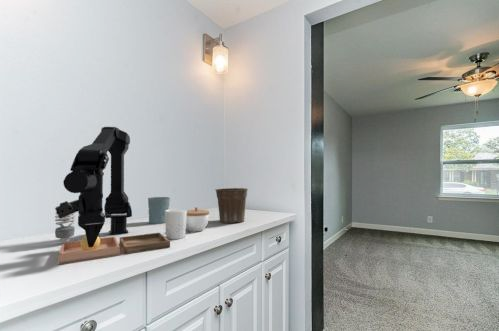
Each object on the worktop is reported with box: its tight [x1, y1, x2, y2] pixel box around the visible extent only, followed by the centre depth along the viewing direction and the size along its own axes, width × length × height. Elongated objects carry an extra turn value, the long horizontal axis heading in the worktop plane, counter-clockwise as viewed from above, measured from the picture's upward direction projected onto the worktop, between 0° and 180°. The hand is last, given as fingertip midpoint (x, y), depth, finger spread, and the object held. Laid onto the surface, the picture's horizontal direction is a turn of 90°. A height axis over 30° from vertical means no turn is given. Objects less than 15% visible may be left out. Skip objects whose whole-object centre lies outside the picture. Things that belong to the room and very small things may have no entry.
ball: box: [80, 235, 100, 251], centre depth 75 cm, size 5×5×5 cm
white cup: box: [164, 208, 187, 240], centre depth 94 cm, size 8×8×10 cm
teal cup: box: [147, 196, 171, 225], centre depth 124 cm, size 10×10×12 cm
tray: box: [119, 232, 171, 255], centre depth 83 cm, size 14×13×2 cm
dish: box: [57, 235, 121, 266], centre depth 75 cm, size 14×14×2 cm
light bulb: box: [54, 211, 76, 244], centre depth 86 cm, size 6×6×12 cm
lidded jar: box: [186, 207, 210, 232], centre depth 107 cm, size 11×11×9 cm
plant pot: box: [214, 187, 249, 224], centre depth 127 cm, size 16×16×16 cm
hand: (90, 243), depth 75 cm, fingers open, 9 cm apart
